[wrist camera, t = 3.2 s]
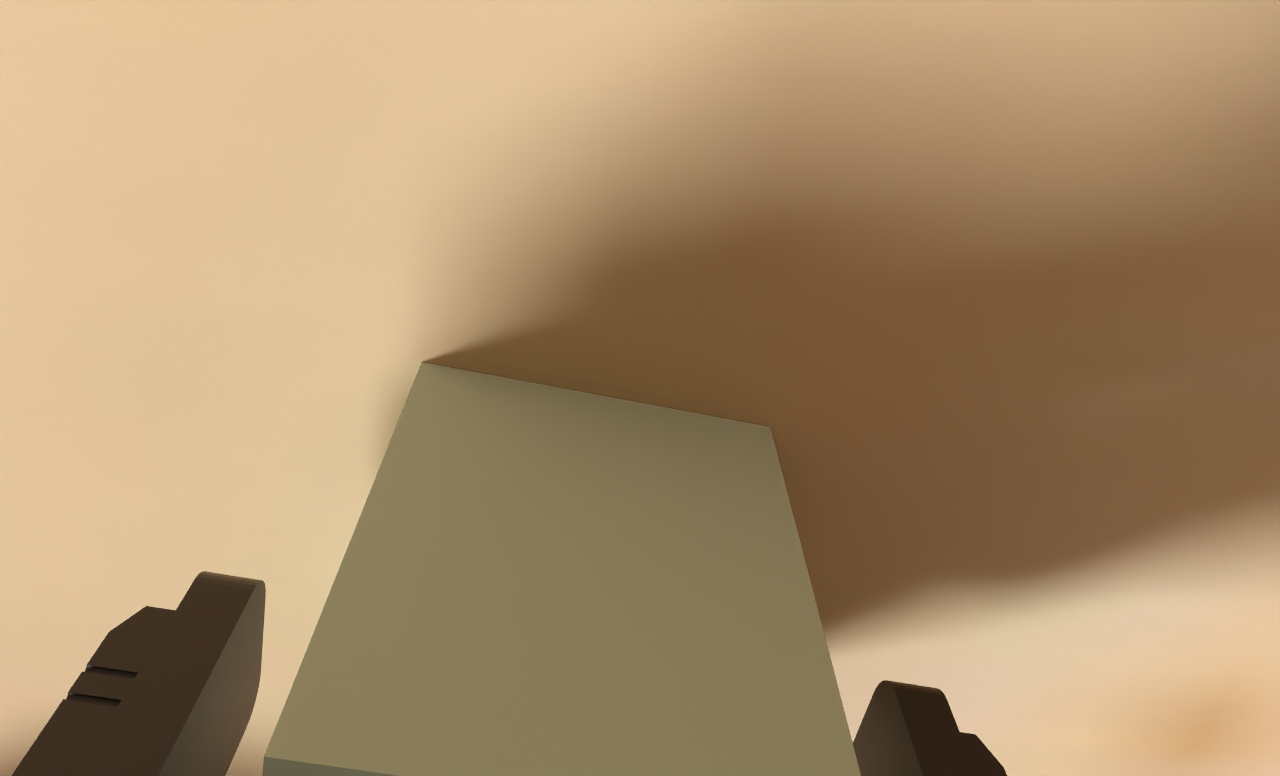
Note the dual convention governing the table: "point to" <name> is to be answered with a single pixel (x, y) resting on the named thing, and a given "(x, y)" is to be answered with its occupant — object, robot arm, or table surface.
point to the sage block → (567, 601)
